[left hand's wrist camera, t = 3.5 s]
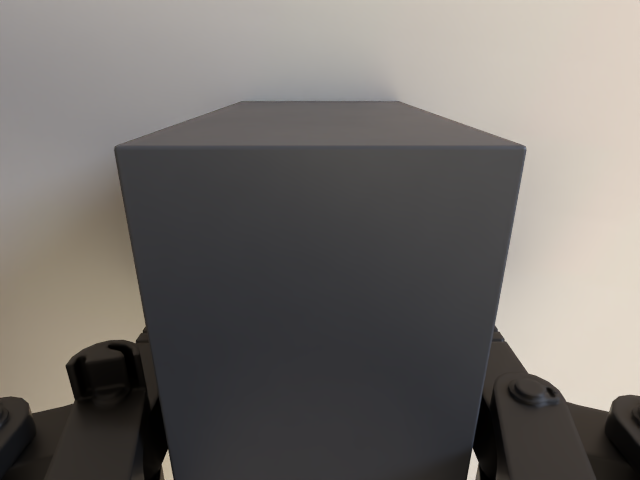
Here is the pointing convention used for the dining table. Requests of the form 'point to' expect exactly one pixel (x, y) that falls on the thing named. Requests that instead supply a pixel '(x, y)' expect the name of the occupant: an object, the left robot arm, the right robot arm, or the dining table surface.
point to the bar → (320, 286)
